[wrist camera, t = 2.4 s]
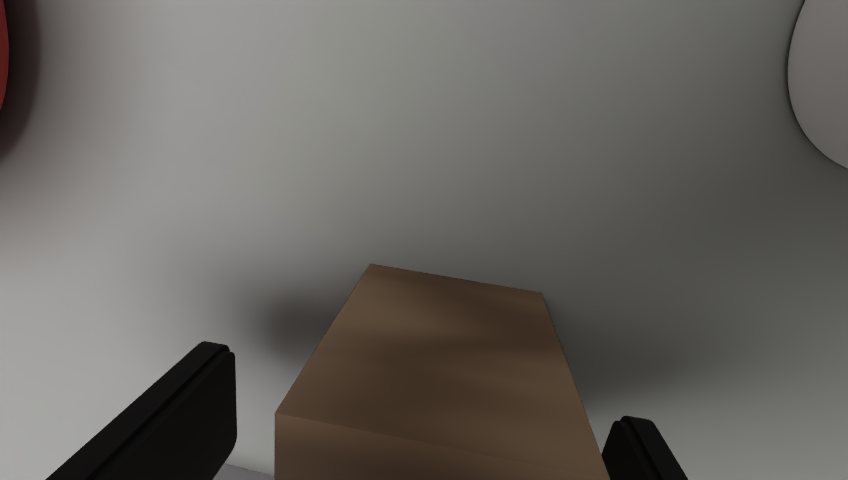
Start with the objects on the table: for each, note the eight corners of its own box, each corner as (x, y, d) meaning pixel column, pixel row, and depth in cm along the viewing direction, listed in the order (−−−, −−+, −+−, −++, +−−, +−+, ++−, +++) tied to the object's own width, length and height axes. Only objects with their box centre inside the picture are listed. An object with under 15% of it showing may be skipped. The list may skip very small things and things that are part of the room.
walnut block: (541, 292, 11) (610, 479, 6) (505, 427, 13) (531, 675, 7) (370, 263, 12) (275, 413, 6) (357, 398, 13) (273, 615, 8)
